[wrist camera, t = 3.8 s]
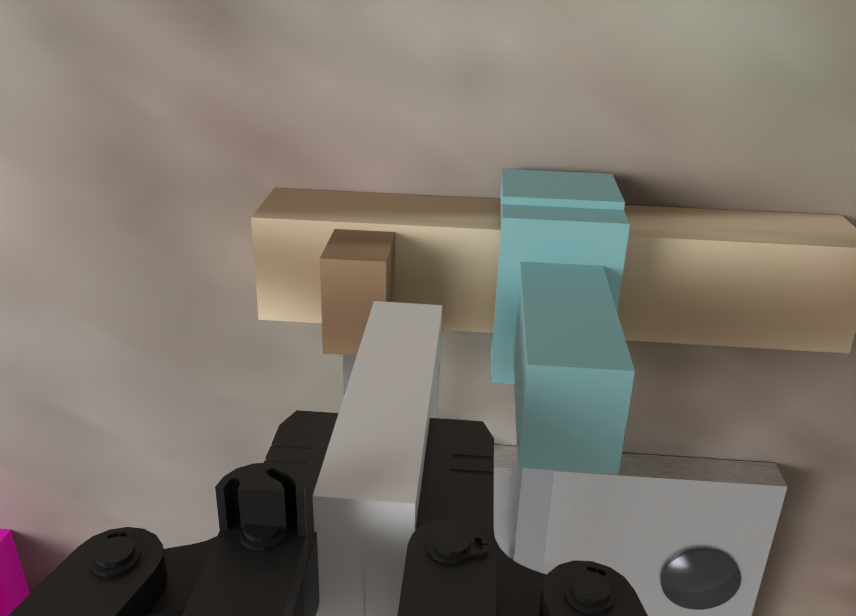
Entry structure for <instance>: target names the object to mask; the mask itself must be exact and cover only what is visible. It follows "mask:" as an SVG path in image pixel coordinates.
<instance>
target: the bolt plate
mask: <svg viewBox="0 0 856 616" xmlns="http://www.w3.org/2000/svg"><path fill="white" fill-rule="evenodd" d="M522 469H523V468H518V455H517V446H505V445H494V534H495V539H496V541H497V543H498V545H499V547H500V548H501V549H502V550H503V551H504V553H505V554H506V555H507V556H508V557H510V558H511V559H513V560H514V553H515V543H516V532H517V522H518V511H519V501H520V490H521V480H522ZM787 487H788V486H787V484H786V483H785V481H784V479H783V477H782V475H781V473H780V471H779V469H778V467H777V465H776V463H767V462H752V461H736V460H721V459H705V458H690V457H675V456H659V455H644V454H628V453H622V455H621V461H620V467H619V473H618V474H604V473H589V472H574V471H559V470H554V478H553V486H552V495H551V503H550V512H549V520H548V529H547V537H546V546H545V554H544V563H543V571H542V573H544V574H548V572H550V571H551V570H552V569H554V568H555V567H556V566H558V565H559V564H562V563H566V562H570V561H574V560H579V561H593V562H596V563H599V564H602V565H605V566H609V567H611V568H612V569H614V570H615V571H617V572H618V573H620V574H621V575H623V576H624V577H625V578H626V579H627V581H628V582H629V583H630V584H631V586H632V587H633V588H634V590H635V591H636V593H637V595H638V597H639V599H640V601H641V603H642V605H643V607H644V609H645V611H646V613H647V615H648V616H752V612H753V609H754V605H755V601H756V598H757V594H758V591H759V587H760V584H761V580H762V576H763V573H764V569H765V566H766V562H767V559H768V555H769V551H770V548H771V544H772V541H773V537H774V534H775V530H776V526H777V523H778V519H779V516H780V512H781V509H782V505H783V501H784V498H785V494H786V491H787ZM316 616H317V614H316Z"/></svg>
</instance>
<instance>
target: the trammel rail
mask: <svg viewBox="0 0 856 616" xmlns="http://www.w3.org/2000/svg"><path fill="white" fill-rule="evenodd" d="M624 211H625V214H626V216H627V218H628V221H629V223H630V227H629V234H628V241H627V248H626V255H625V262H624V269H623V276H622V283H621V289H620V296H619V303H618V310H617V314H618V317H619V320H620V323H621V327H622V330H623V333H624V337H625V340H626V341H642V342H659V343H676V344H694V345H711V346H729V347H746V348H764V349H781V350H799V351H816V352H834V353H850V350H851V347H852V343H853V340H854V336H855V333H856V227H855V226H853V225H852V224H851V223H850V222H849V221H848V220H847V219H845V218H844V217H843V216H842V215H825V214H804V213H783V212H762V211H742V210H721V209H700V208H679V207H658V206H637V205H625V206H624ZM251 225H252V238H253V251H254V264H255V277H256V290H257V303H258V317H259V320H275V321H292V322H310V323H322V337H323V353H326V354H343V372H344V395H345V391H346V388H347V385H348V382H349V379H350V376H351V372H352V369H353V366H354V363H355V360H356V357H357V353H358V350H359V347H360V344H361V341H362V337H363V334H364V331H365V328H366V325H367V322H368V318H369V315H370V312H371V309H372V306H373V302H374V301H381V302H397V303H413V304H429V305H442V326H441V330H449V331H467V332H484V333H493V330H494V316H495V301H496V287H497V272H498V258H499V244H500V229H501V201H500V199H491V198H471V197H450V196H429V195H408V194H387V193H366V192H345V191H325V190H304V189H283V188H274V189H273V190H272V192H271V193H270V194H269V195H268V197H267V198H266V199H265V200H264V202H263V203H262V204H261V205H260V207H259V208H258V209H257V211H256V212H255V213H254V214H253V216H252V217H251Z"/></svg>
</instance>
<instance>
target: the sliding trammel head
mask: <svg viewBox="0 0 856 616" xmlns="http://www.w3.org/2000/svg"><path fill="white" fill-rule="evenodd" d="M500 201H501V229H500V244H499V258H498V272H497V287H496V301H495V316H494V330H493V333H491V383H501V384H515V407H516V431H517V455H518V468H523V469H522V480H521V490H520V501H519V511H518V522H517V532H516V543H515V553H514V561H515V562H517V563H518V564H521V565H523V566H525V567H527V568H530V569H532V570H535V571H538V572H541V573H542V571H543V563H544V554H545V546H546V537H547V529H548V520H549V512H550V503H551V495H552V486H553V478H554V470H559V471H574V472H589V473H604V474H618V473H619V467H620V461H621V455H622V449H623V442H624V436H625V430H626V424H627V418H628V411H629V405H630V399H631V393H632V387H633V380H634V374H635V369H634V366H633V363H632V360H631V356H630V353H629V350H628V346H627V343H626V340H625V337H624V333H623V330H622V327H621V323H620V320H619V317H618V314H617V310H618V303H619V296H620V289H621V283H622V276H623V269H624V262H625V255H626V248H627V241H628V234H629V227H630V223H629V221H628V218H627V216H626V214H625V211H624V206H625V201H624V199H623V197H622V194H621V192H620V190H619V188H618V185H617V183H616V181H615V179H614V177H613V174H606V173H584V172H562V171H540V170H519V169H502V176H501V191H500Z"/></svg>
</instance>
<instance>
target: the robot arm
mask: <svg viewBox="0 0 856 616" xmlns="http://www.w3.org/2000/svg"><path fill="white" fill-rule="evenodd" d="M441 326H442V305H429V304H413V303H397V302H381V301H374V302H373V306H372V309H371V312H370V315H369V318H368V322H367V325H366V328H365V331H364V334H363V337H362V341H361V344H360V347H359V350H358V353H357V357H356V360H355V363H354V366H353V369H352V372H351V376H350V379H349V382H348V385H347V388H346V391H345V395H344V398H343V401H342V404H341V407H340V411H339V413H327V412H312V411H298V410H297V411H296V412H294V413H293V414H292V415H291V416H290V417H288V418H287V419H286V420H285V421H284V422H283V423H281V424H280V425H279V427H278V430H277V432H276V435H275V437H274V439H273V442H272V446H270V449H269V451H268V453H267V456H266V461H264V463H255V464H251V465H247V466H244V467H240V468H237V469H235V470H234V471H232V472H230V473H229V474H227V475H225V476H224V477H223V478H222V479H221V481H220V482H219V483H218V484H217V486H216V487H215V489H216V498H217V508H218V517H219V527H220V531H219V534H218V536H217V537H214V538H212V539H209V540H207V541H204V542H200V543H196V544H192V545H185V546H179V547H173V548H167V549H163V544H162V543H161V541H160V540H159V539H158V537H157V536H156V535H155V534H153V533H151V532H149V531H147V530H145V529H141V528H132V527H124V528H118V529H111V530H108V531H105V532H103V533H100V534H98V535H95V536H93V537H91V538H90V539H88V540H87V541H86V542H84V543H83V544H81V545H80V546H79V547H77V548H76V549H75V550H74V551H73V552H72V553H71V554H70V555H69V556H68V557H67V558H66V559H65V560H64V561H63V562H62V563H61V564H60V565H59V566H58V567H57V568H56V569H55V570H54V571H53V572H52V573H51V574H50V575H49V576H48V577H47V578H46V579H45V580H44V581H43V582H42V583H41V584H40V585H39V586H38V587H37V588H35V589H34V590H33V591H32V592H31V593H30V594H29V595H28V596H27V597H26V598H25V599H24V600H23V601H22V602H21V603H20V604H19V605H18V606H17V607H16V608H15V609H14V610H13V611H12V612H11V613H10V614H9V615H8V616H316V614H317V616H648V615H647V613H646V611H645V609H644V607H643V605H642V603H641V601H640V599H639V597H638V595H637V593H636V591H635V590H634V588H633V587H632V586H631V584H630V583H629V582H628V581H627V579H626V578H625V577H624V576H623V575H621V574H620V573H618V572H617V571H615V570H614V569H612V568H611V567H609V566H605V565H602V564H599V563H596V562H593V561H579V560H574V561H570V562H566V563H562V564H559V565H558V566H556V567H555V568H554V569H552V570H551V571H550V572H548V574H544V573H541V572H538V571H535V570H532V569H530V568H527V567H525V566H523V565H521V564H518V563H517V562H515V561H514V560H513V559H511V558H510V557H508V556H507V555H506V554H505V553H504V551H503V550H502V549H501V548H500V547H499V545H498V543H497V541H496V539H495V534H494V438H493V436H492V435H491V433H490V432H489V430H488V429H487V427H486V425H485V424H484V422H483V421H468V420H454V419H439V418H437V413H438V393H439V371H440V349H441Z"/></svg>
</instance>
